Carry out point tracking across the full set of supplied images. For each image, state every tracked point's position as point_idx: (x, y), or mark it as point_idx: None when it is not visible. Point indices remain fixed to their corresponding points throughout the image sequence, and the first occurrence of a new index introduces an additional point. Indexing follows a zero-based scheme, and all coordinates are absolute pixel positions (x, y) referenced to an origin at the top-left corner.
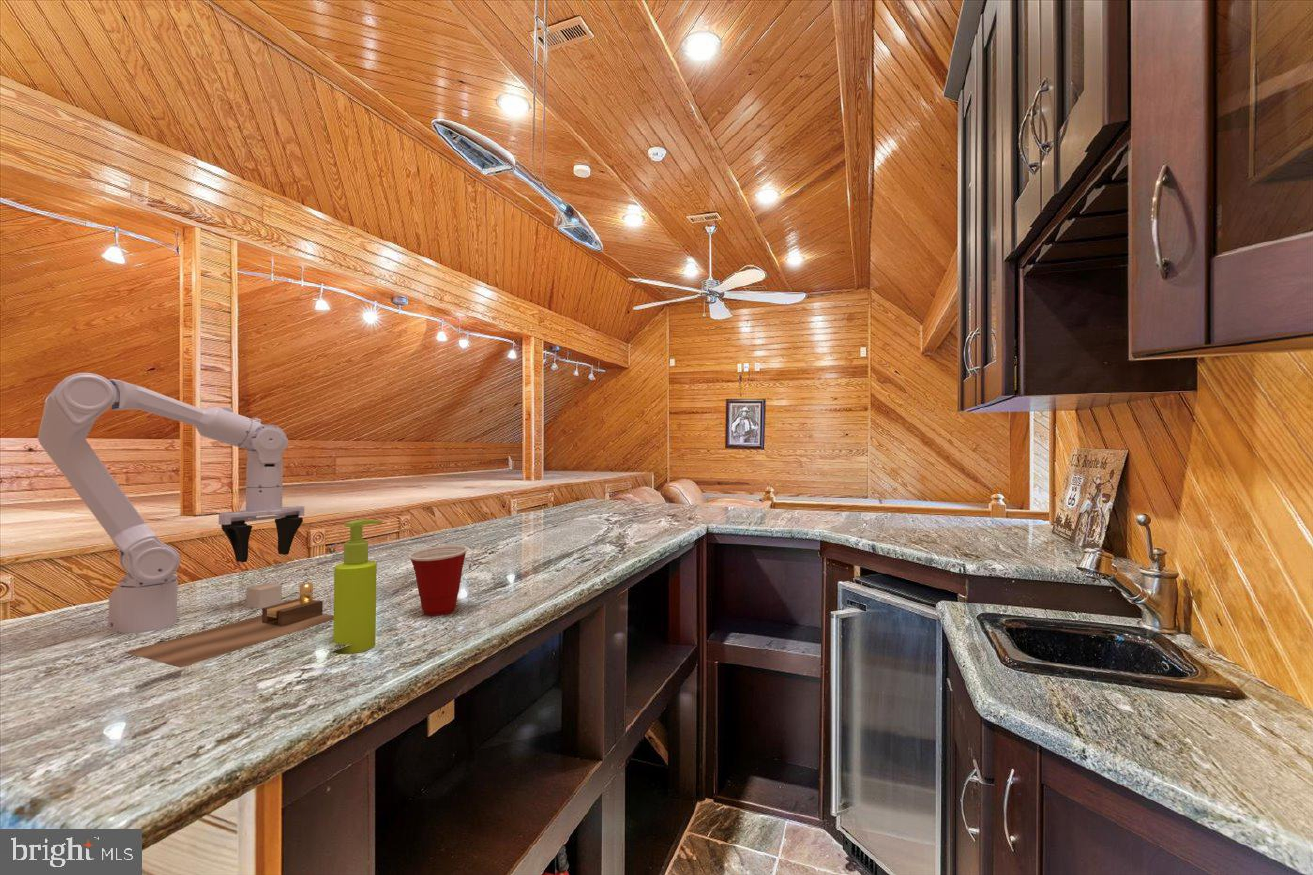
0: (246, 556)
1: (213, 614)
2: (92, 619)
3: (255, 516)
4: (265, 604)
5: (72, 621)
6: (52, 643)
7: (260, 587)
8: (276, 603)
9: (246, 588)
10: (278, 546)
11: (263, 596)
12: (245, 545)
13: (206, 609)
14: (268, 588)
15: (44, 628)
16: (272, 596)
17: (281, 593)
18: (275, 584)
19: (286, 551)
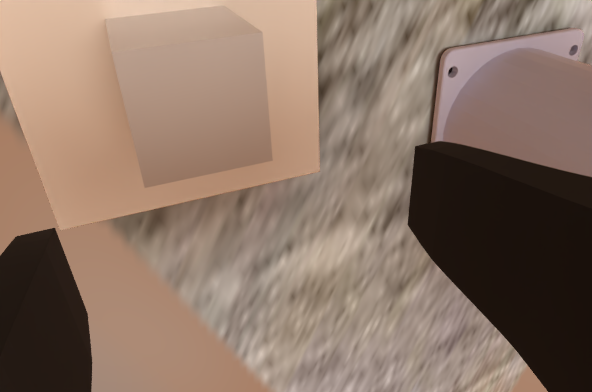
0: (458, 151)
1: (296, 206)
2: (441, 367)
3: None
4: (203, 16)
5: (461, 374)
6: None
7: (225, 105)
8: (136, 23)
9: (271, 157)
10: (87, 380)
11: (226, 26)
12: (565, 187)
13: (275, 289)
14: (206, 38)
15: (504, 352)
16: (168, 29)
17: (109, 36)
18: (130, 112)
19: (42, 239)
